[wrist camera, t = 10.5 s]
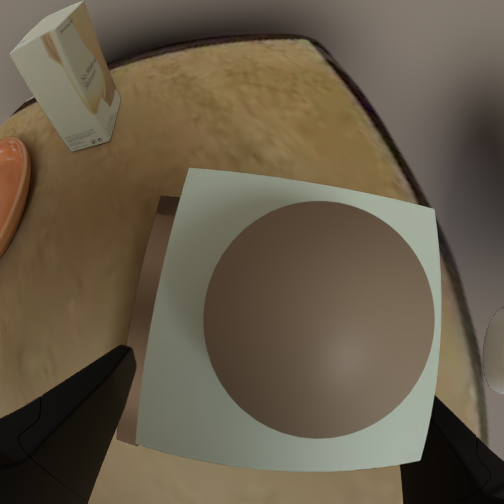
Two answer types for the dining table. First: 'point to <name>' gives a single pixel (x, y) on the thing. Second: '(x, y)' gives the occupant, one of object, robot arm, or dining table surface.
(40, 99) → the skincare box
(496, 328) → the pill bottle
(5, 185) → the saucer
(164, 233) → the box
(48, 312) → the dining table surface
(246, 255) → the block
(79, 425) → the robot arm
